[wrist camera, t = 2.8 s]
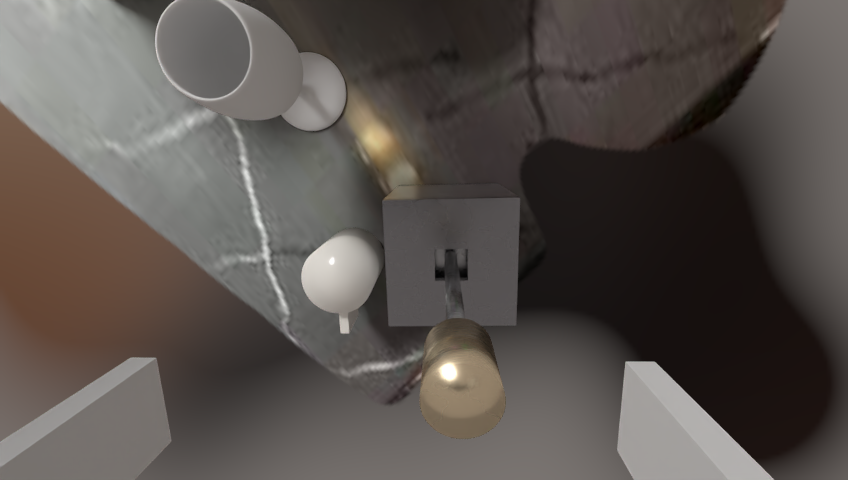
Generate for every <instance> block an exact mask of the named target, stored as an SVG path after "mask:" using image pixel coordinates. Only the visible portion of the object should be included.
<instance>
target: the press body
mask: <svg viewBox="0 0 848 480" xmlns="http://www.w3.org/2000/svg"><path fill="white" fill-rule="evenodd" d="M382 208H383V227H384V247H385V267H386V286H387V306H388V325H389V326H436V325H437V324H439V323H440V322H442V321H444V320H446V300H445V278H435V249H467V278H460V283H461V291H462V298H463V305H464V312H465V319H469V320H472V321H474V322H476V323H478V324H479V325H481V326H516V317H517V286H518V253H519V221H520V197H519V196H517V195H515V194H514V193H512V192H511V191H509V190H508V189H506V188H505V187H503V186H502V185H500V184H498V183H482V184H437V185H399V186H398V187H396V188H395V189H394V190H393V191H392V192H391V193H390V194H389V195H388V196H386V197H385V198H384V199H383V200H382Z"/></svg>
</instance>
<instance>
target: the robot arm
mask: <svg viewBox="0 0 848 480" xmlns="http://www.w3.org/2000/svg"><path fill="white" fill-rule="evenodd" d="M170 442H171V436H170V430H169V425H168V419H167V414H166V408H165V403H164V397H163V392H162V386H161V382H160V376H159V370H158V364H157V359H156V358H130V359H128V360H126V361H125V362H123V363H122V364H120V365H119V366H117V367H116V368H114V369H112V370H111V371H109V372H108V373H106V374H105V375H103V376H102V377H100V378H99V379H97V380H95V381H94V382H92V383H91V384H89V385H88V386H86V387H85V388H83V389H81V390H80V391H79V392H77V393H75V394H74V395H72V396H71V397H69V398H68V399H66V400H64V401H63V402H62V403H60V404H58V405H57V406H55V407H54V408H52V409H50V410H49V411H47V412H46V413H44V414H43V415H41V416H40V417H38V418H36V419H35V420H33V421H32V422H30V423H29V424H27V425H26V426H24V427H23V428H21V429H19V430H18V431H16V432H15V433H13V434H12V435H10V436H8V437H7V438H5V439H4V440H2V441H1V442H0V480H135V479H136V478H137V476H138V475H139V474H140V473H141V472H142V471H143V470H144V469H145V468H146V467H147V466H148V465H149V464H150V463H151V462H152V461H153V460H154V459H155V458H156V457H157V456H158V455H159V454H160V453H161V451H162V450H163V449H164V448H165V447H166V446H167V445H168V444H169V443H170ZM617 451H618V452H619V455H620V456H621V458H622V460H623V462H624V463H625V465H626V467H627V468H628V470H629V472H630V474H631V475H632V477H633V479H634V480H774V479H773V478H772V477H771V476H770V475H769V474H768V473H767V472H766V471H765V470H764V469H763V468H762V467H761V466H760V465H759V464H758V463H757V462H756V461H755V460H754V459H752V457H751V456H750V455H748V453H747V452H746V451H745V450H743V448H741V447H740V446H739V445H738V444H737V443H736V442H735V441H734V440H733V439H732V438H731V437H730V436H729V435H728V434H727V433H726V432H725V431H724V430H723V429H722V428H721V427H720V426H719V425H718V424H717V423H716V422H715V421H714V420H713V419H712V418H711V417H710V416H709V415H708V414H707V413H706V412H705V411H704V410H703V409H702V408H701V407H700V406H699V405H698V404H697V403H696V402H695V401H694V400H693V399H692V398H691V397H690V396H689V395H688V394H687V393H686V392H685V391H684V390H683V389H682V388H681V387H680V386H679V385H678V384H677V383H676V382H675V381H674V380H673V379H672V378H671V377H670V376H669V375H668V374H667V373H666V372H665V371H664V370H663V369H662V368H661V367H660V366H659V365H658V364H657V363H656V362H626V363H625V373H624V383H623V393H622V404H621V414H620V425H619V435H618V446H617Z"/></svg>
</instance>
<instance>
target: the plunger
mask: <svg viewBox="0 0 848 480" xmlns="http://www.w3.org/2000/svg"><path fill="white" fill-rule="evenodd" d="M435 278H445V300H446V320H444V321H442V322H440V323H439V324H437V325H436V326H434V327H433V328H432V329H431V331H430V332H429V333H428V335H427V337H426V340H425V344H424V354H423V366H422V377H421V388H420V409H421V412H422V415H423V417H424V418H425V420H426V421H427V423H428V424H429V425H430V426H431V427H432V428H433V429H434V430H436V431H437V432H439V433H441V434H443V435H445V436H448V437H451V438H456V439H469V438H475V437H478V436H481V435H483V434H485V433H487V432H489V431H490V430H491V429H493V428H494V427H495V426H496V425H497V424H498V422H499V421H500V419H501V418H502V416H503V413H504V410H505V405H506V397H505V392H504V389H503V385H502V381H501V377H500V373H499V369H498V366H497V361H496V358H495V354H494V349H493V346H492V342H491V339H490V336H489V335H488V333H487V332H486V330H485V329H484V328H483V327H482V326H481V325H479V324H478V323H476V322H474V321H472V320H469V319H465V312H464V305H463V298H462V291H461V283H460V278H467V249H435Z"/></svg>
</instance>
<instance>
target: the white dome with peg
mask: <svg viewBox="0 0 848 480" xmlns="http://www.w3.org/2000/svg"><path fill="white" fill-rule="evenodd" d="M384 261H385V255H384V250H383V247H382V245H381V243H380V242H379V240H378V239H377V238H376V237H375V236H374V235H373V234H372V233H370V232H368V231H366V230H364V229H360V228H348V229H344V230H342V231H340V232H338V233H337V234H335V235H334V236H333V237H332V238H330V239H329V240H328V241H327V242H325V243H324V244H323V245H322V246H321V247H319V248H318V249H317V250H316V251H314V252H313V253H312V254H311V255H310V256H309V257H308V259H307V260H306V262H305V263H304V266H303V269H302V275H301V277H302V285H303V288H304V291H305V293H306V295H307V296H308V298H309V299H310V300H311V301H312V302H313V303H314V304H315V305H316V306H318V307H319V308H321V309H323V310H325V311H328V312H331V313H339V319H340V331H341V333H350V331H351V329H352V327H353V325H354V323H355V321H356V319H357V317H358V308H359V307H360V306H361V305H363V304H364V303H365V301H366V300H367V299H368V297H369V295H370V293H371V291H372V289H373V287H374V285H375V283H376V281H377V279H378V277H379V275H380V273H381V271H382V268H383V266H384Z"/></svg>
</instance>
